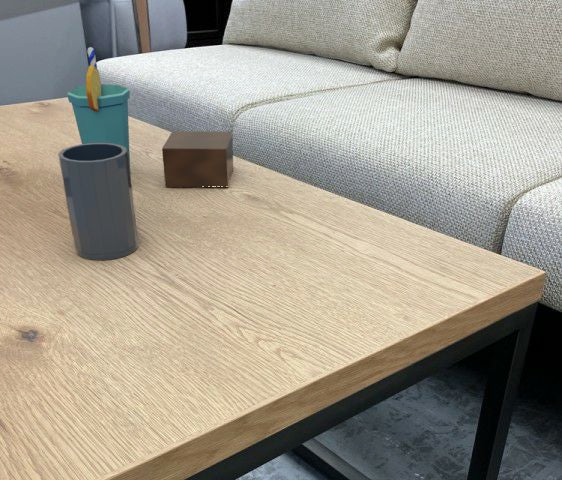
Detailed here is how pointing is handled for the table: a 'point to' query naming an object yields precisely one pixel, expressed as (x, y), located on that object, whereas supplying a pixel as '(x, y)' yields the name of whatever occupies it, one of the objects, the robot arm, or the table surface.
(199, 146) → the walnut block
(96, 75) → the cup
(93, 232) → the slate cup
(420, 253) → the table surface
